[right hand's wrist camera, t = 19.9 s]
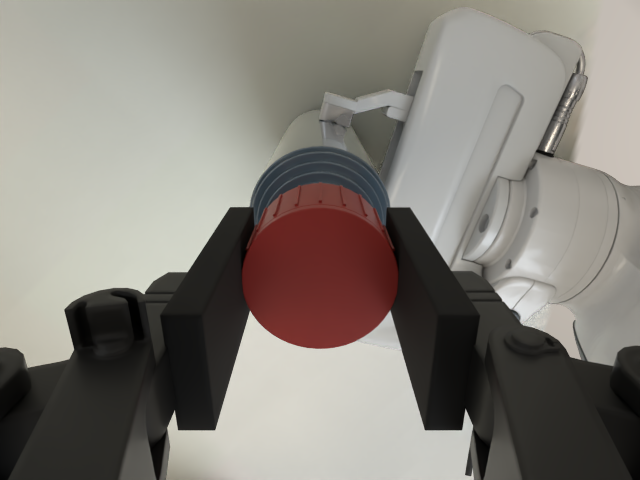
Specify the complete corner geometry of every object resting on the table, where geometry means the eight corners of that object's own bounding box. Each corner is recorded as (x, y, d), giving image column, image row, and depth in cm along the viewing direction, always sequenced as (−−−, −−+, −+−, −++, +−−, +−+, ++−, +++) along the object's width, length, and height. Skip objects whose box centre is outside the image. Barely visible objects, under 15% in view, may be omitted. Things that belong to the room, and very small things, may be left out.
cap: (272, 316, 15) (263, 362, 13) (236, 197, 14) (217, 225, 11) (396, 291, 15) (411, 335, 12) (373, 167, 13) (386, 189, 11)
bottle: (368, 122, 31) (447, 209, 12) (345, 194, 33) (380, 371, 14) (293, 99, 30) (246, 152, 11) (274, 174, 32) (206, 329, 13)
